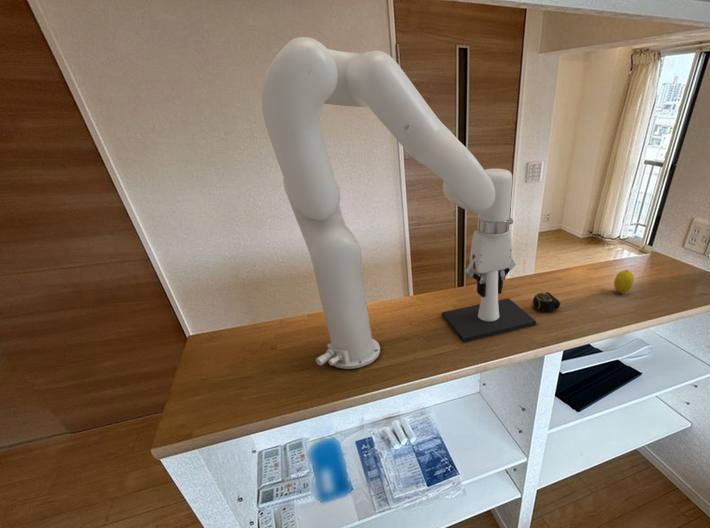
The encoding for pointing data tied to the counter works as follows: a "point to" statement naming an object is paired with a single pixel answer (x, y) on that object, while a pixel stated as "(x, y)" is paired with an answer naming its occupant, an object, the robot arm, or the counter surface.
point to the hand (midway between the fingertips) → (489, 292)
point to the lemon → (624, 281)
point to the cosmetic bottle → (490, 298)
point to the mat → (475, 328)
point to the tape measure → (545, 302)
